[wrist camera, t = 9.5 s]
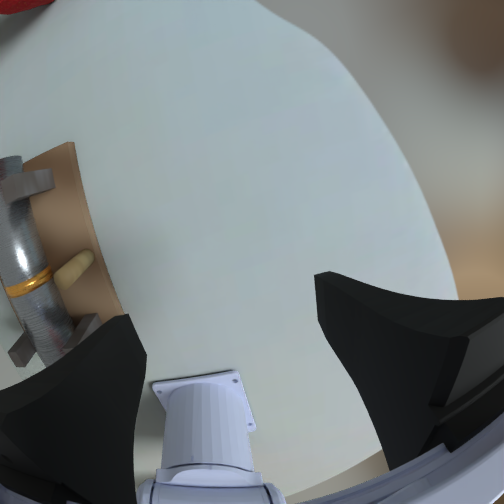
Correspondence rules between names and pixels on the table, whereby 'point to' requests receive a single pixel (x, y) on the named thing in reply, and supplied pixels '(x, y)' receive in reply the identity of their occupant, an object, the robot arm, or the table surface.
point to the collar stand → (64, 243)
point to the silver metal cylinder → (30, 275)
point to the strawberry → (20, 5)
